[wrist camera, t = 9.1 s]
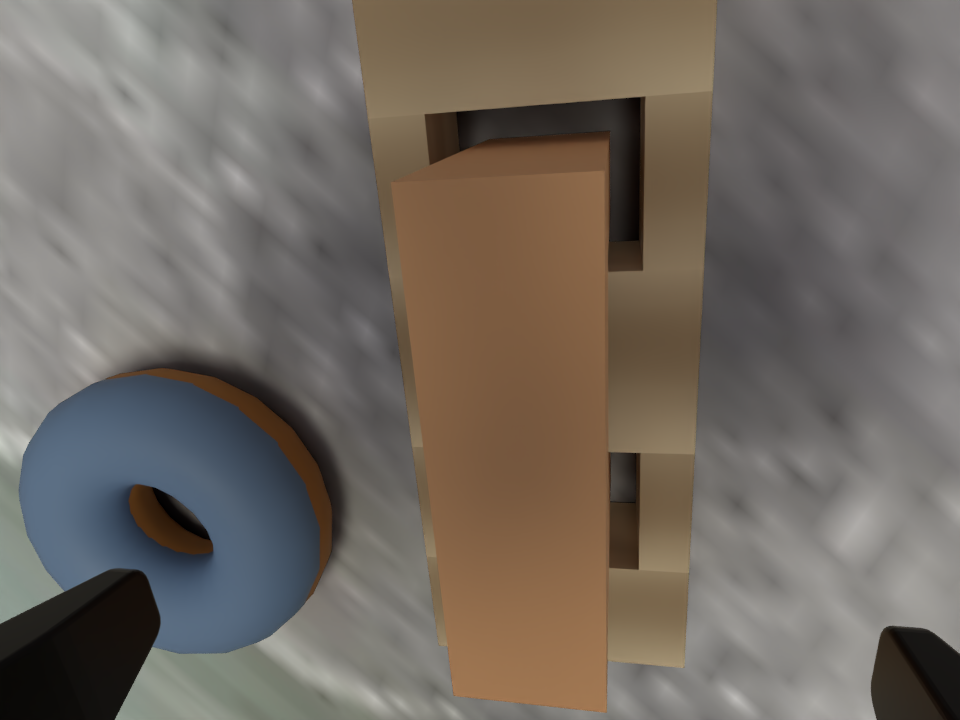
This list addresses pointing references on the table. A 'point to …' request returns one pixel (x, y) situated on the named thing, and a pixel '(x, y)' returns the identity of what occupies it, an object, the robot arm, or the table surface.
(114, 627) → the robot arm
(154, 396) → the doughnut
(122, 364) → the table surface
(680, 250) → the rail
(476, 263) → the tan wooden block
